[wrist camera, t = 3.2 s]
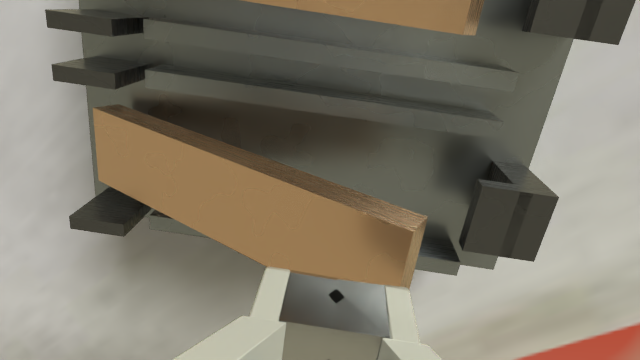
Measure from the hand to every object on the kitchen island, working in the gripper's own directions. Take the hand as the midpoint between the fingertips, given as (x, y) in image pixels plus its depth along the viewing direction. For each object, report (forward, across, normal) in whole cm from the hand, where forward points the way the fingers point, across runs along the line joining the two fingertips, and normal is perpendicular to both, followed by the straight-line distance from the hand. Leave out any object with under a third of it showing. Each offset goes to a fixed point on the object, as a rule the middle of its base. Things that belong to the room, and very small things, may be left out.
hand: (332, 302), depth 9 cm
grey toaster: (+14, +2, -4) cm, 14 cm away
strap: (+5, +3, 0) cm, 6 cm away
